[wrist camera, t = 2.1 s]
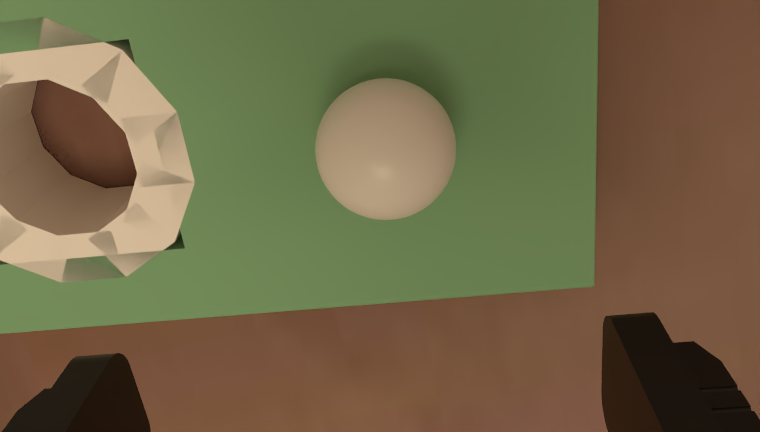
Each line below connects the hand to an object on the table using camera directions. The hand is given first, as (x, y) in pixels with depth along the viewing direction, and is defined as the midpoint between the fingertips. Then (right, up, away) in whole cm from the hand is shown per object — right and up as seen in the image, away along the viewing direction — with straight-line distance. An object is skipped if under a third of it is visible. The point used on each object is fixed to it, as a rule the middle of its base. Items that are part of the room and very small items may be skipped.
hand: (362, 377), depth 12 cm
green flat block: (-5, +7, +17) cm, 19 cm away
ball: (0, +5, +10) cm, 11 cm away
